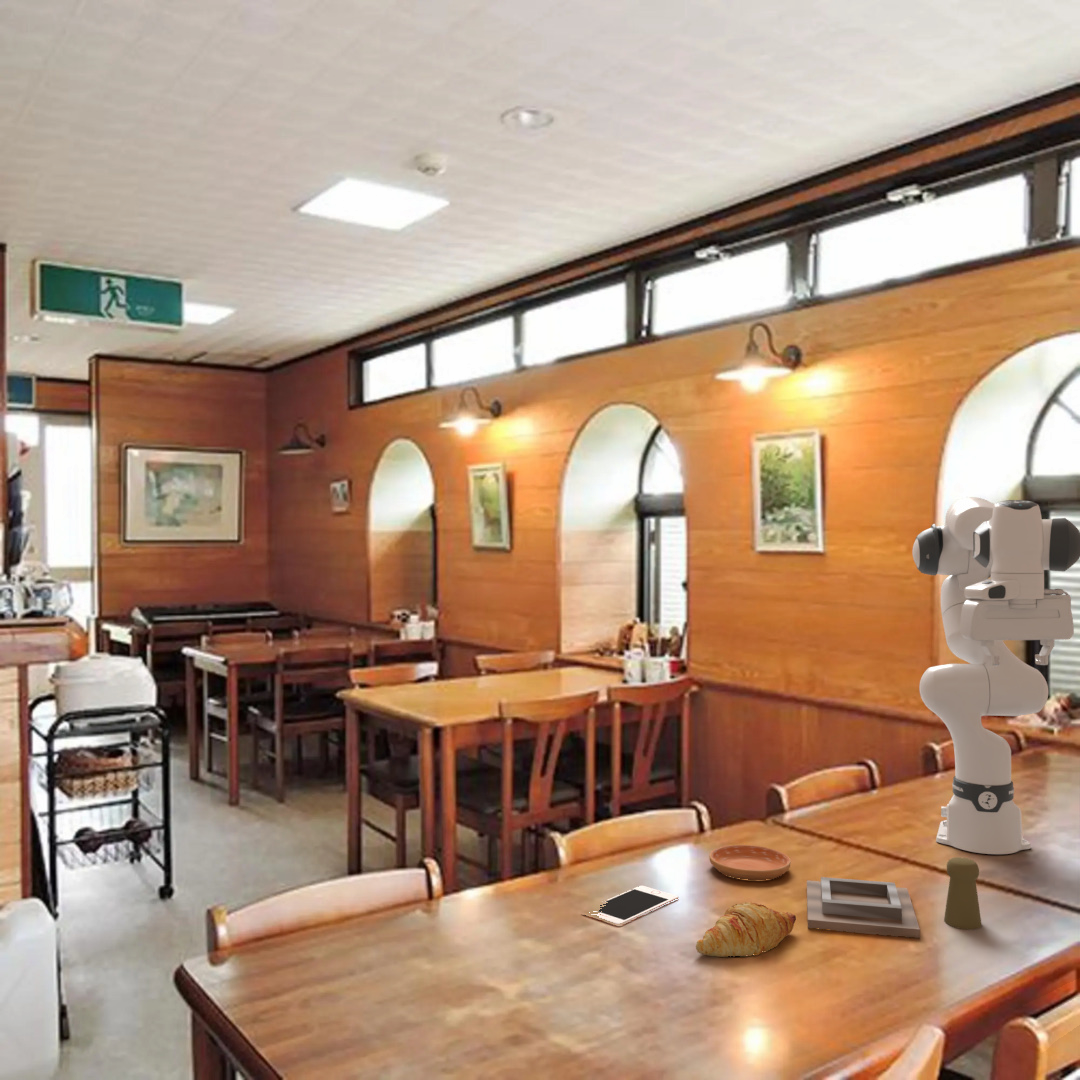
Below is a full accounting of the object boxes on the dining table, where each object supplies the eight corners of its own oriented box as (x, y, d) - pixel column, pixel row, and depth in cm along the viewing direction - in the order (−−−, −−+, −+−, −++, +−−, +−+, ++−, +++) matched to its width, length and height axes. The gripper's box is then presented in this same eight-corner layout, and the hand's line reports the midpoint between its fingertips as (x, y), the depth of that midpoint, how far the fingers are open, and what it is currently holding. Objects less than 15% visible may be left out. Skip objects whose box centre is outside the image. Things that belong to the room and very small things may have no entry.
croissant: (710, 987, 158) (725, 951, 155) (672, 938, 165) (686, 903, 162) (804, 953, 170) (821, 919, 166) (765, 909, 177) (780, 875, 174)
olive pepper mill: (985, 930, 171) (985, 866, 171) (947, 928, 172) (947, 863, 172) (977, 917, 177) (977, 854, 177) (941, 914, 178) (940, 852, 178)
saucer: (797, 864, 206) (797, 850, 206) (781, 890, 192) (781, 874, 192) (720, 854, 213) (720, 840, 213) (699, 878, 198) (699, 863, 198)
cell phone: (679, 901, 187) (679, 896, 187) (618, 929, 173) (618, 924, 173) (641, 889, 193) (641, 884, 193) (579, 916, 180) (579, 911, 180)
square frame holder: (806, 888, 192) (806, 869, 192) (907, 896, 187) (907, 877, 187) (807, 928, 173) (807, 907, 172) (919, 938, 168) (919, 917, 168)
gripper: (1059, 587, 188) (1059, 662, 188) (955, 588, 186) (956, 663, 186) (1081, 589, 182) (1081, 666, 182) (974, 590, 180) (974, 667, 179)
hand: (1017, 665), depth 184 cm, fingers open, 8 cm apart
